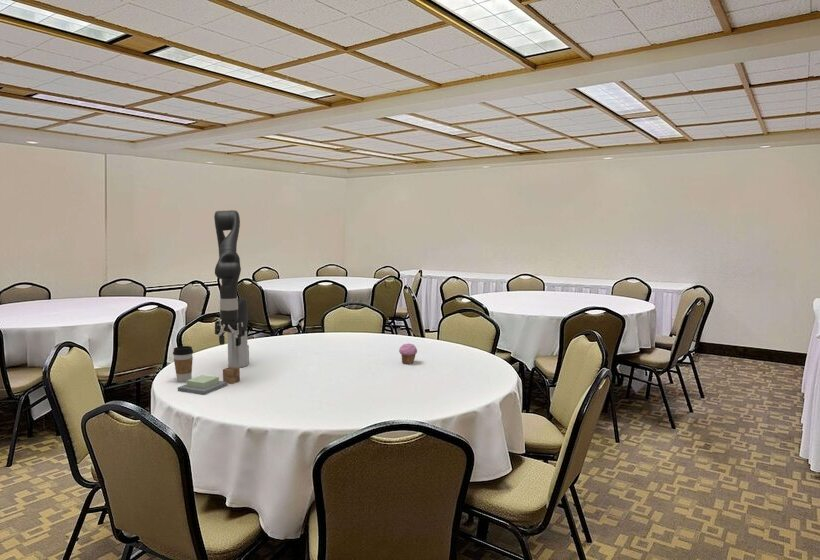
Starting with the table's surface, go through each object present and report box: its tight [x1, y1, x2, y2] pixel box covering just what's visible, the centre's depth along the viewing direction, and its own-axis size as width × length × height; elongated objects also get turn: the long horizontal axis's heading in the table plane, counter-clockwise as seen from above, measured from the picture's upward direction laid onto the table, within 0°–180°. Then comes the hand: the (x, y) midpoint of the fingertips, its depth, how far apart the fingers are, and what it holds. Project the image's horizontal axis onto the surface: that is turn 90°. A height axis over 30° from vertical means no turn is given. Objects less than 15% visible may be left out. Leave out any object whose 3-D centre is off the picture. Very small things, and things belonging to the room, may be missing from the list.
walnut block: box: [222, 366, 241, 385], centre depth 243 cm, size 5×5×6 cm
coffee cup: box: [172, 345, 194, 383], centre depth 245 cm, size 8×8×15 cm
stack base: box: [177, 374, 229, 396], centre depth 234 cm, size 14×14×4 cm
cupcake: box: [398, 343, 418, 365], centre depth 275 cm, size 9×9×10 cm
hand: (230, 345), depth 241 cm, fingers open, 8 cm apart
